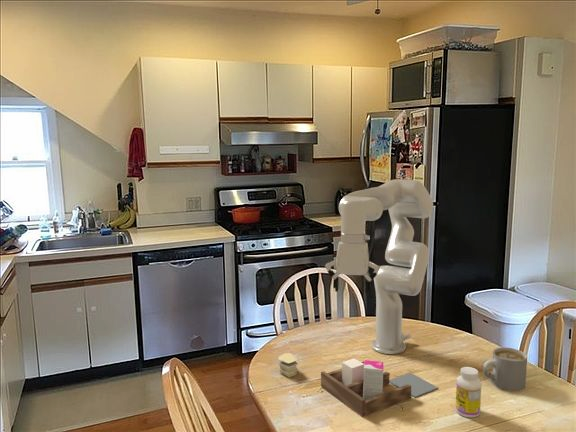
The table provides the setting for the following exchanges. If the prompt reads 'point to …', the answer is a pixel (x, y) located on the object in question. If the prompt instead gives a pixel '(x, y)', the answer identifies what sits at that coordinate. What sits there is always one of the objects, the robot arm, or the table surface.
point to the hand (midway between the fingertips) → (351, 291)
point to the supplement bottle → (468, 393)
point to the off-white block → (352, 371)
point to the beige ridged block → (287, 364)
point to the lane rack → (352, 392)
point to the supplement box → (372, 379)
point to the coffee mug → (507, 369)
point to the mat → (413, 384)
